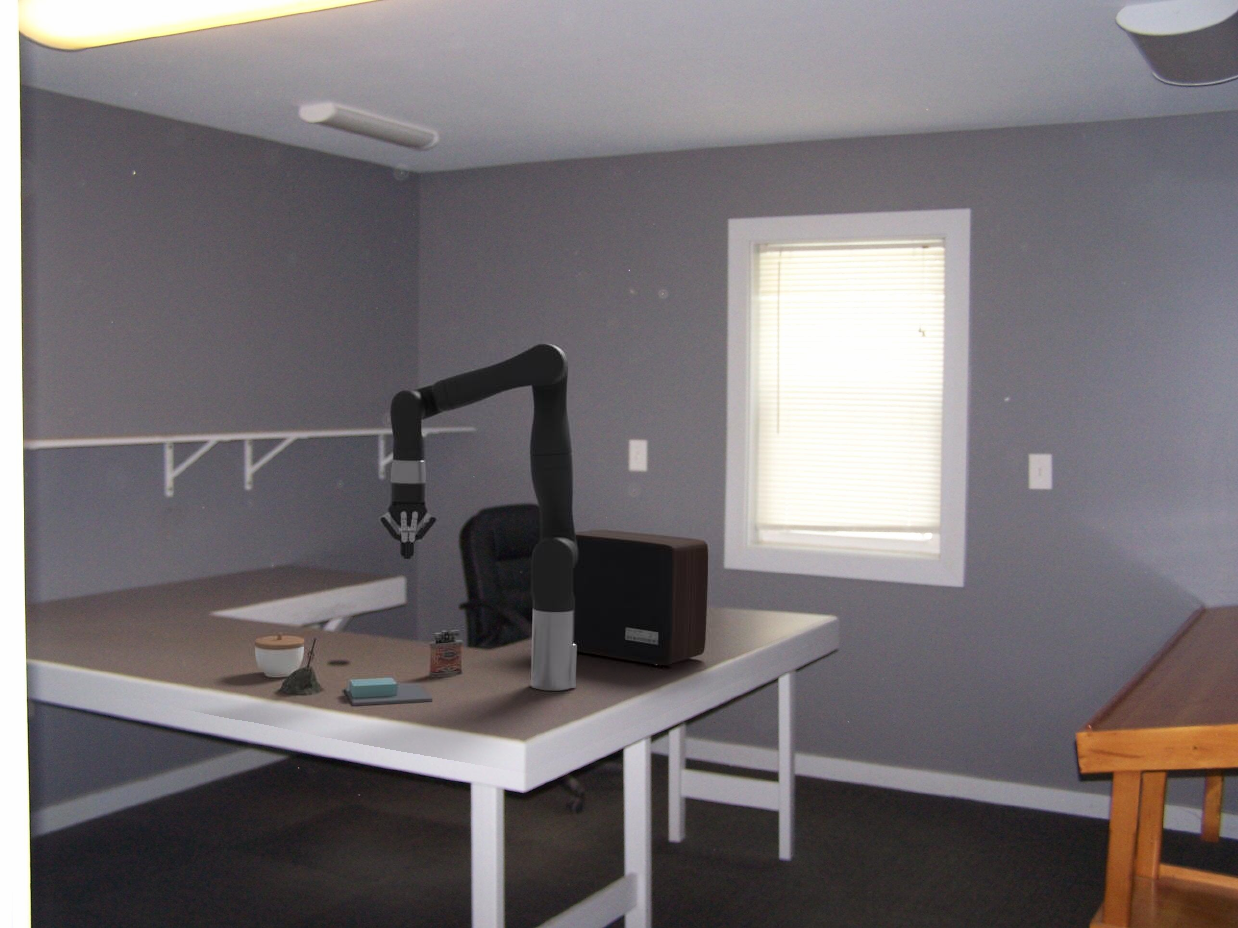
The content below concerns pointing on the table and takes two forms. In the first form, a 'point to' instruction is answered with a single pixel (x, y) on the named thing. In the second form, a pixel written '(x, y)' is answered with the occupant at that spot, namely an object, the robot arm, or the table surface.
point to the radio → (640, 596)
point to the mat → (404, 695)
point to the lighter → (446, 654)
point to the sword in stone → (302, 680)
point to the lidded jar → (279, 654)
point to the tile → (373, 687)
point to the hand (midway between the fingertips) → (406, 558)
